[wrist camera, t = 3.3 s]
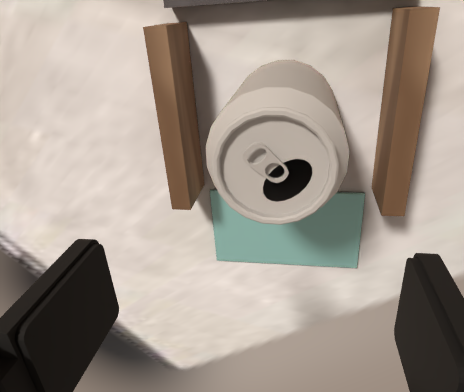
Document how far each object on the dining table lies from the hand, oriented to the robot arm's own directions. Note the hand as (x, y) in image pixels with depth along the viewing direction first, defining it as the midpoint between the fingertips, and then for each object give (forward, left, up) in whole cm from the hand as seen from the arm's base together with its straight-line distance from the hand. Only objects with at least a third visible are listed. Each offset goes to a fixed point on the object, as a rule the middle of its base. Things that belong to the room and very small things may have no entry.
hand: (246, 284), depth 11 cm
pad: (0, +10, -20) cm, 22 cm away
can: (0, 0, -20) cm, 20 cm away
